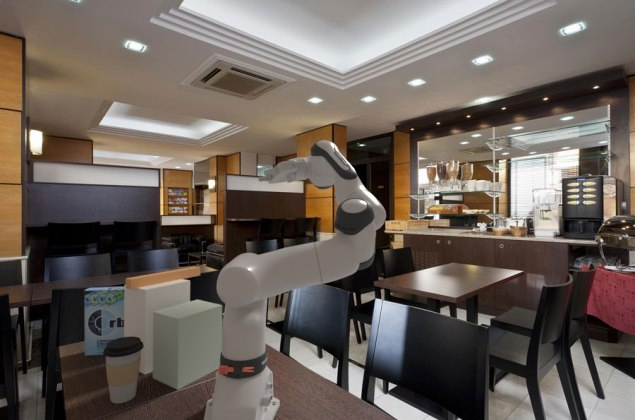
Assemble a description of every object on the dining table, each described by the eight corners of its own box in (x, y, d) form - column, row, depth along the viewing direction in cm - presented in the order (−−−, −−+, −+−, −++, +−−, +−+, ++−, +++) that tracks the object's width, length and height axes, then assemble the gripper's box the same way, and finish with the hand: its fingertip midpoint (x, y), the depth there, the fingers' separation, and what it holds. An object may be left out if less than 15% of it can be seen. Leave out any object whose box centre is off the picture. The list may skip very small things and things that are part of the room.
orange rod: (195, 274, 126) (195, 266, 126) (200, 275, 124) (200, 267, 124) (125, 287, 103) (125, 278, 103) (130, 289, 102) (130, 279, 102)
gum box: (148, 347, 121) (149, 285, 121) (143, 353, 116) (144, 288, 116) (91, 350, 118) (91, 286, 118) (83, 356, 113) (83, 289, 113)
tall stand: (168, 347, 121) (168, 276, 121) (189, 355, 115) (190, 280, 115) (123, 364, 108) (124, 284, 108) (144, 374, 101) (145, 289, 101)
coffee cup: (117, 387, 94) (117, 334, 94) (150, 388, 94) (150, 335, 94) (94, 407, 84) (94, 349, 84) (130, 408, 84) (130, 349, 84)
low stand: (196, 357, 113) (197, 299, 113) (221, 367, 107) (222, 305, 107) (152, 378, 99) (153, 311, 99) (177, 389, 93) (178, 319, 93)
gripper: (306, 170, 120) (270, 177, 115) (289, 183, 139) (258, 189, 133) (301, 154, 121) (265, 160, 115) (285, 168, 139) (254, 174, 134)
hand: (261, 176), depth 124 cm, fingers open, 8 cm apart
